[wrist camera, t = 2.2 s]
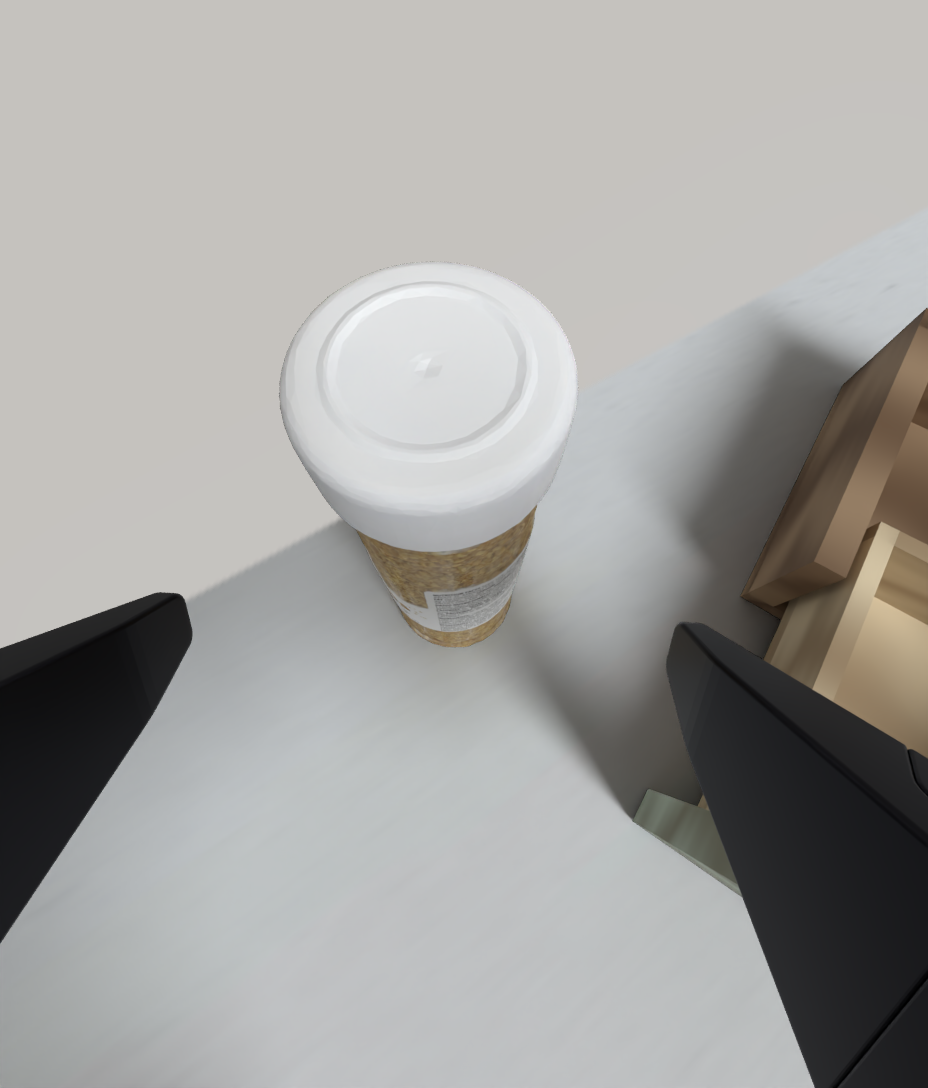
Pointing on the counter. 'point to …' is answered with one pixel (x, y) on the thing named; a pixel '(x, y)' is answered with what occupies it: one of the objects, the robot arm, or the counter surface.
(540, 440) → the spice jar
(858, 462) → the walnut caddy
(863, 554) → the drawer
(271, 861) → the counter surface
